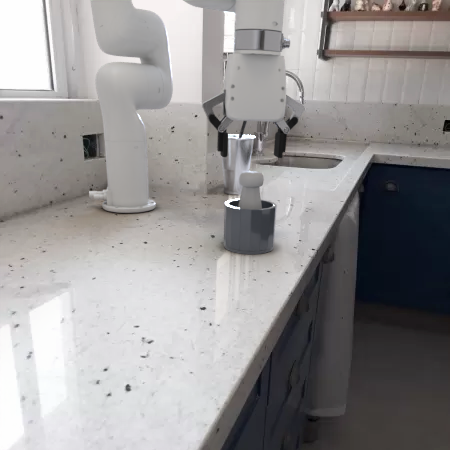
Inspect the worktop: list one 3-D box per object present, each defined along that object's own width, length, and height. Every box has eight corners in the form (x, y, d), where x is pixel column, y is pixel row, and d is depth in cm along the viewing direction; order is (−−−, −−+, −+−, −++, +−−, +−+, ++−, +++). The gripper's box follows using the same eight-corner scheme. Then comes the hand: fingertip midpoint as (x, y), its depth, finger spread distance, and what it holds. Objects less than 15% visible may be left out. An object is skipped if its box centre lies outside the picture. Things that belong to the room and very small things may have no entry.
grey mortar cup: (228, 255, 85) (230, 210, 82) (220, 240, 93) (221, 198, 90) (279, 253, 86) (282, 209, 83) (266, 239, 95) (268, 198, 91)
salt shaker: (242, 249, 86) (245, 175, 81) (227, 241, 91) (229, 170, 85) (270, 245, 88) (274, 173, 83) (254, 237, 93) (257, 168, 88)
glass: (253, 197, 131) (259, 76, 119) (213, 195, 133) (215, 75, 121) (259, 190, 141) (265, 77, 129) (221, 188, 143) (224, 76, 131)
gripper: (302, 49, 81) (292, 154, 88) (200, 43, 78) (198, 152, 85) (317, 46, 75) (305, 160, 82) (206, 40, 72) (204, 159, 79)
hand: (251, 156), depth 84 cm, fingers open, 9 cm apart
